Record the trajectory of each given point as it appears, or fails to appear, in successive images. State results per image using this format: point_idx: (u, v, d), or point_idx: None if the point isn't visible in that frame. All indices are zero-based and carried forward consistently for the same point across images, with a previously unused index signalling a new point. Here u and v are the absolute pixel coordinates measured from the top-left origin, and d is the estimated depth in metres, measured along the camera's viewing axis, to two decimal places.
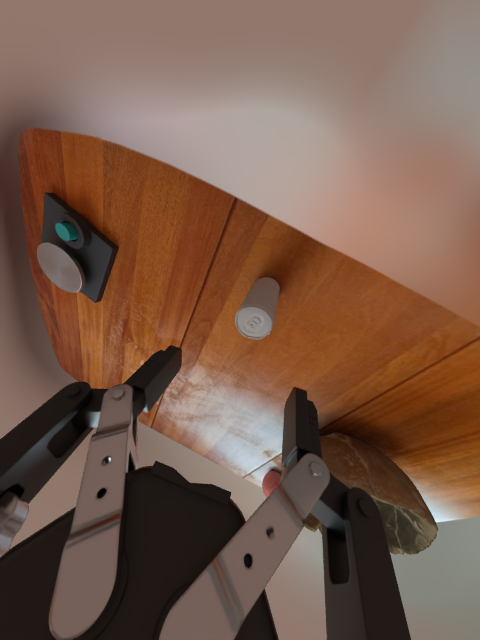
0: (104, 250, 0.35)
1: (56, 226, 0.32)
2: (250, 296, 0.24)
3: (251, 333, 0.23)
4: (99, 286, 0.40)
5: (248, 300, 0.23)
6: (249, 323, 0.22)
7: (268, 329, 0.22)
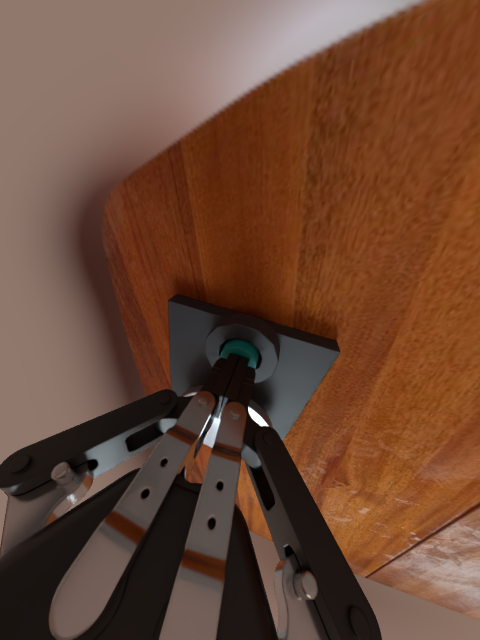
0: (312, 361, 0.14)
1: (223, 356, 0.14)
2: None
3: None
4: (290, 425, 0.19)
5: None
6: None
7: None
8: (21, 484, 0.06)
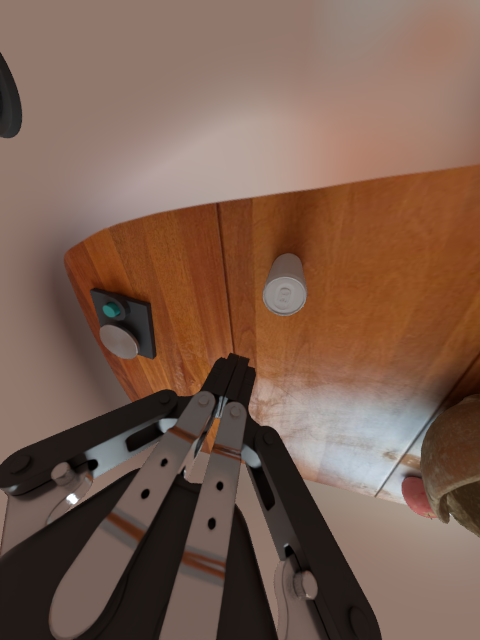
0: (141, 310, 0.40)
1: (103, 309, 0.39)
2: (269, 275, 0.22)
3: (287, 308, 0.20)
4: (150, 343, 0.45)
5: (268, 278, 0.21)
6: (280, 299, 0.20)
7: (303, 294, 0.19)
8: (21, 484, 0.06)
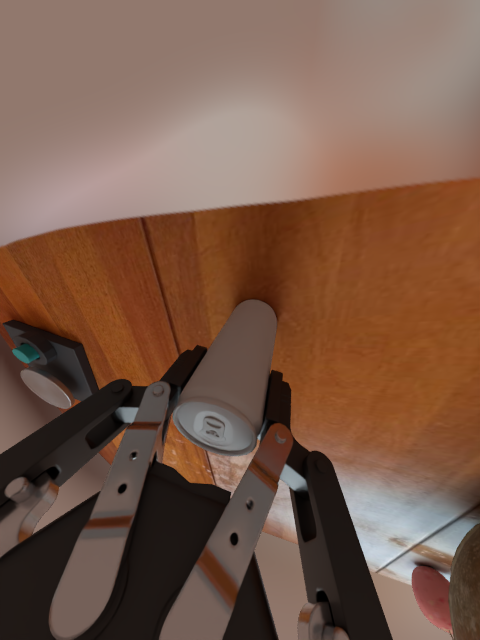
0: (68, 354, 0.30)
1: (14, 353, 0.28)
2: None
3: (225, 446, 0.10)
4: (89, 390, 0.34)
5: (191, 377, 0.11)
6: (206, 430, 0.10)
7: (250, 433, 0.09)
8: None
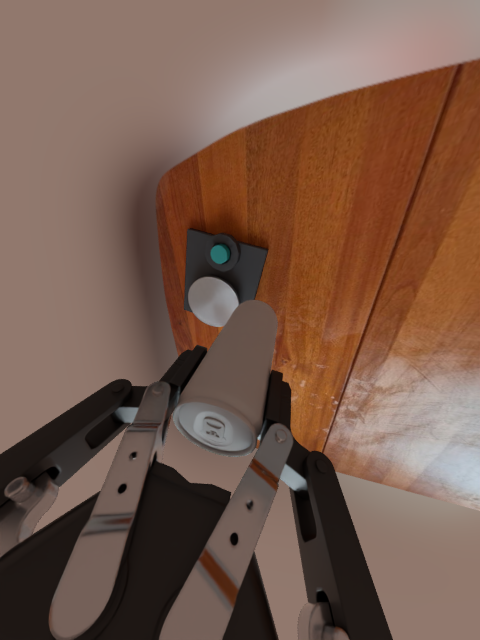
0: (256, 258, 0.30)
1: (212, 251, 0.29)
2: (201, 362, 0.12)
3: (225, 446, 0.10)
4: None
5: (191, 377, 0.11)
6: (206, 431, 0.10)
7: (250, 434, 0.09)
8: None
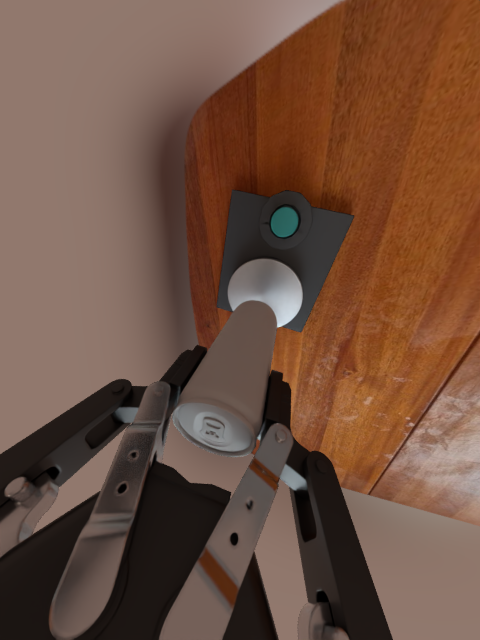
0: (334, 228, 0.21)
1: (274, 218, 0.19)
2: None
3: (224, 446, 0.10)
4: (313, 301, 0.25)
5: (191, 378, 0.11)
6: (206, 431, 0.10)
7: (249, 434, 0.09)
8: None
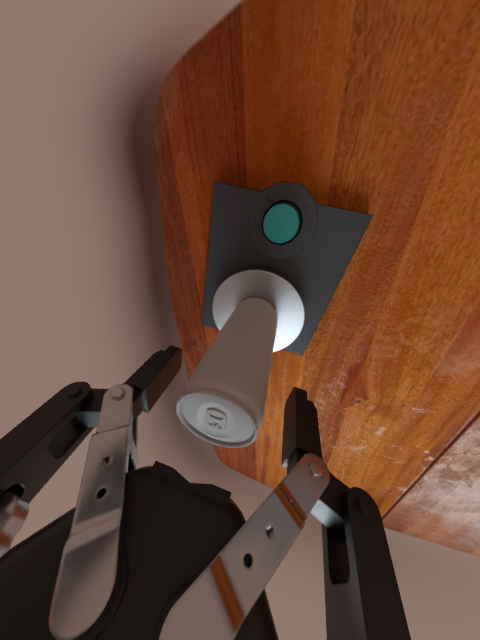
0: (345, 232, 0.16)
1: (267, 218, 0.15)
2: (203, 357, 0.12)
3: (226, 437, 0.10)
4: (317, 320, 0.21)
5: (194, 371, 0.11)
6: (209, 422, 0.10)
7: (251, 424, 0.09)
8: None
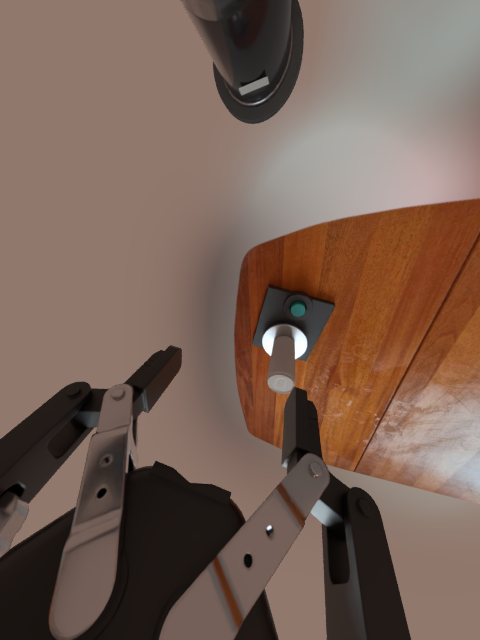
0: (324, 310, 0.38)
1: (292, 308, 0.37)
2: (271, 363, 0.34)
3: (283, 390, 0.32)
4: (313, 344, 0.43)
5: (271, 368, 0.33)
6: (278, 384, 0.32)
7: (292, 384, 0.31)
8: None
